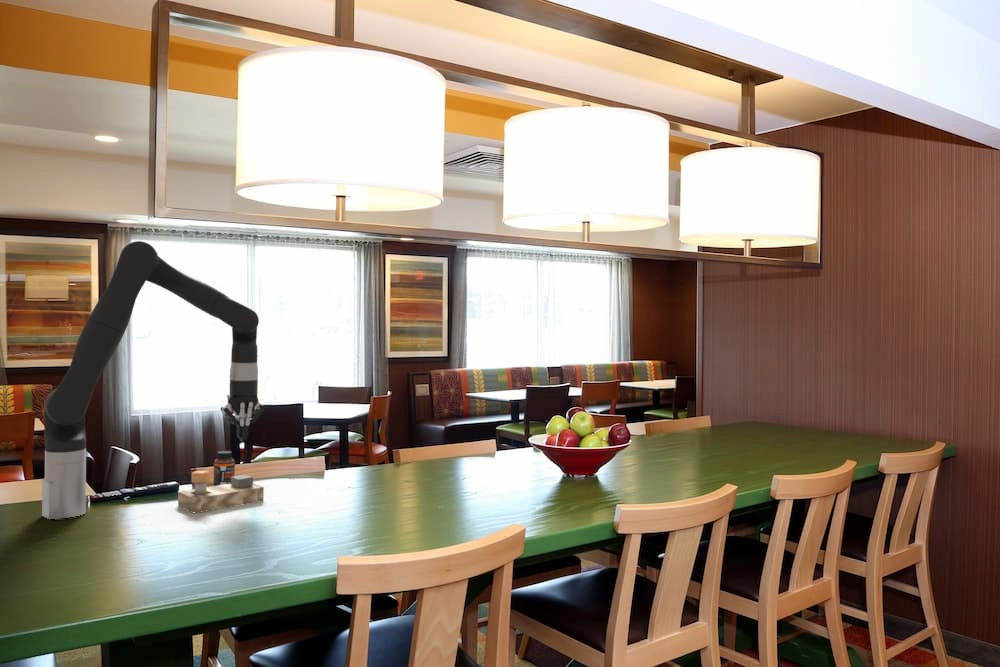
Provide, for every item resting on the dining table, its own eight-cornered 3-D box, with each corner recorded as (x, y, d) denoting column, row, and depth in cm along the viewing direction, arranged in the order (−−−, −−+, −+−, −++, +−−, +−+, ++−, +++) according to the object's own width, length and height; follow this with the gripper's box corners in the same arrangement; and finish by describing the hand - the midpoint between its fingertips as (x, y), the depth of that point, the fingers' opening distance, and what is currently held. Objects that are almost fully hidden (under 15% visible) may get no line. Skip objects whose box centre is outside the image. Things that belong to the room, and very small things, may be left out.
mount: (194, 513, 197) (194, 498, 197) (178, 506, 204) (178, 491, 204) (263, 500, 212) (263, 486, 212) (246, 494, 219) (246, 480, 218)
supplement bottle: (227, 492, 221) (227, 454, 220) (209, 490, 222) (209, 453, 221) (238, 487, 226) (238, 450, 226) (220, 486, 228) (221, 449, 227)
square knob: (238, 502, 209) (238, 479, 209) (230, 498, 212) (231, 476, 212) (252, 499, 212) (253, 477, 212) (245, 496, 215) (245, 474, 215)
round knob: (196, 498, 200) (196, 475, 200) (188, 495, 203) (188, 472, 203) (212, 495, 204) (212, 472, 203) (205, 492, 207) (205, 469, 207)
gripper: (227, 380, 204) (226, 443, 204) (271, 378, 213) (270, 438, 214) (215, 378, 209) (213, 439, 209) (258, 376, 219) (257, 434, 219)
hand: (242, 438), depth 212 cm, fingers closed
